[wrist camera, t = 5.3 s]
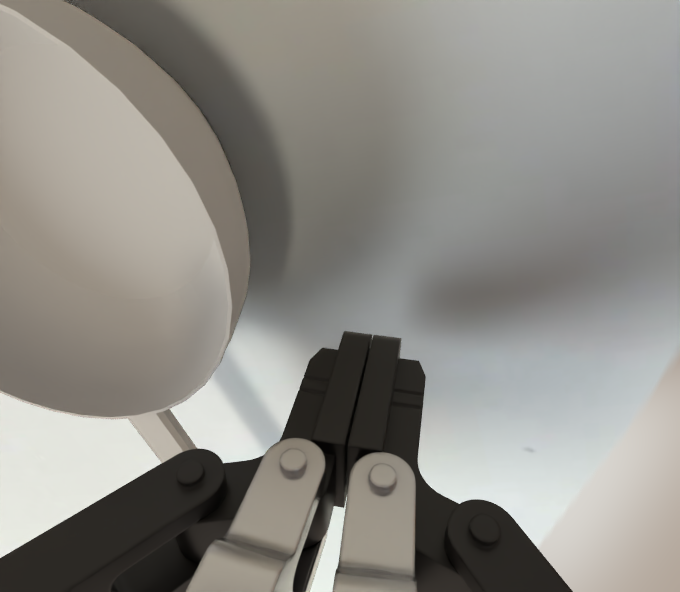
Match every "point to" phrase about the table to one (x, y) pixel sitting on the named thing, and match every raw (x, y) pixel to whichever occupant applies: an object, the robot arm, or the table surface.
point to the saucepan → (110, 227)
